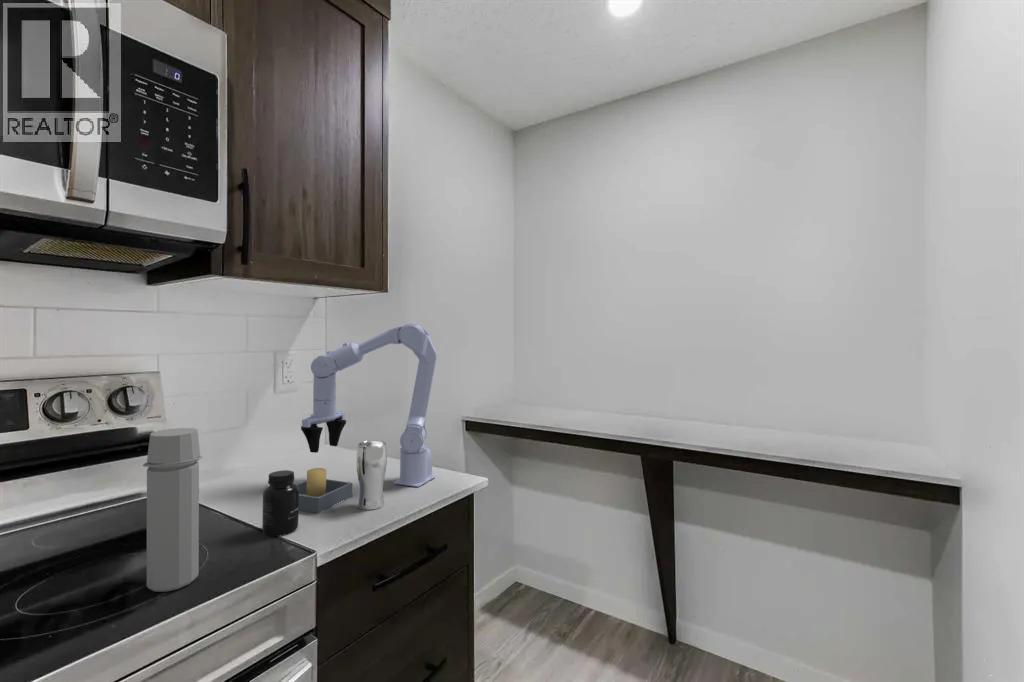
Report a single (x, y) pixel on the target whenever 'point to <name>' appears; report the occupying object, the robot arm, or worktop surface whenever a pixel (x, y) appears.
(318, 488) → the peg
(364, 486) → the beer glass
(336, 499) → the bin
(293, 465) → the worktop surface
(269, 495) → the supplement bottle
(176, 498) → the water bottle
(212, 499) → the worktop surface
